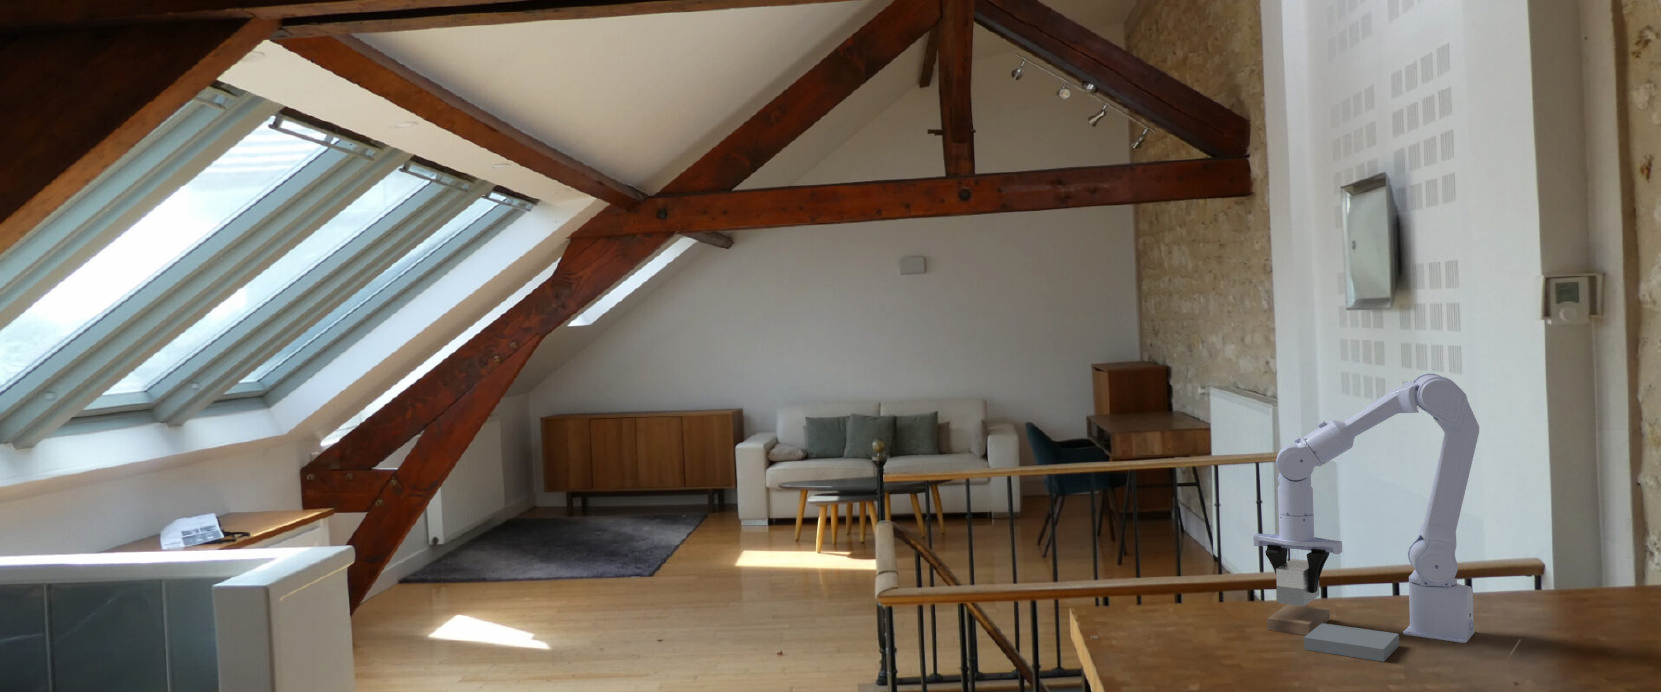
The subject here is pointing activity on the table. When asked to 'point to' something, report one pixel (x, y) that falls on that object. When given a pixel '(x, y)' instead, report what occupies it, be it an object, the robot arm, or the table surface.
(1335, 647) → the stand
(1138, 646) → the table surface
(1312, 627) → the stand
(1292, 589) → the block
